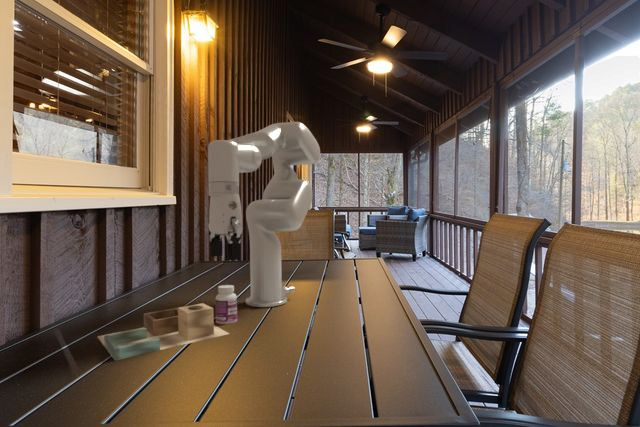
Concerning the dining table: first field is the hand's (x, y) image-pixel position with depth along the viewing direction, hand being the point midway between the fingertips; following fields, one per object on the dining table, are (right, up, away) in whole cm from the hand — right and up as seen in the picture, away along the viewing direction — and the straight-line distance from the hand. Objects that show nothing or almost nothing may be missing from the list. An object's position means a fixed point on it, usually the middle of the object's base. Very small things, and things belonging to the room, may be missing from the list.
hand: (224, 257), depth 102 cm
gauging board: (-12, -17, -10) cm, 23 cm away
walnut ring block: (-13, -16, -5) cm, 21 cm away
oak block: (-4, -17, -9) cm, 19 cm away
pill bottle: (0, -17, +1) cm, 17 cm away
